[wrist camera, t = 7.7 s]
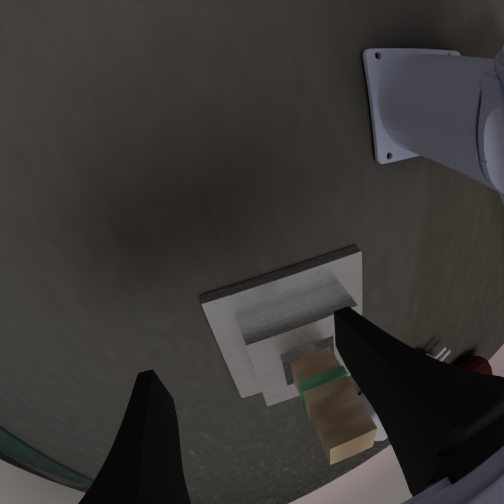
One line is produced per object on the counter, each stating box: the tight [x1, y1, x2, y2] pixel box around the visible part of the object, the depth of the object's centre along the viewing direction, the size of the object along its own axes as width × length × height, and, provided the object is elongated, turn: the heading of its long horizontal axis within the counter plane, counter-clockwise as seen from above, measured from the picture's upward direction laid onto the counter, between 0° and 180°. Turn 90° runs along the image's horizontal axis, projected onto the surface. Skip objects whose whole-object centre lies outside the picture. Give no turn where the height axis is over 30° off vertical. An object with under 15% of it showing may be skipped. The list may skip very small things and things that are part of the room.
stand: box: [200, 245, 362, 406], centre depth 25 cm, size 12×12×4 cm
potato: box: [457, 356, 492, 375], centre depth 38 cm, size 7×8×7 cm
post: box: [290, 347, 377, 465], centre depth 19 cm, size 3×3×7 cm
